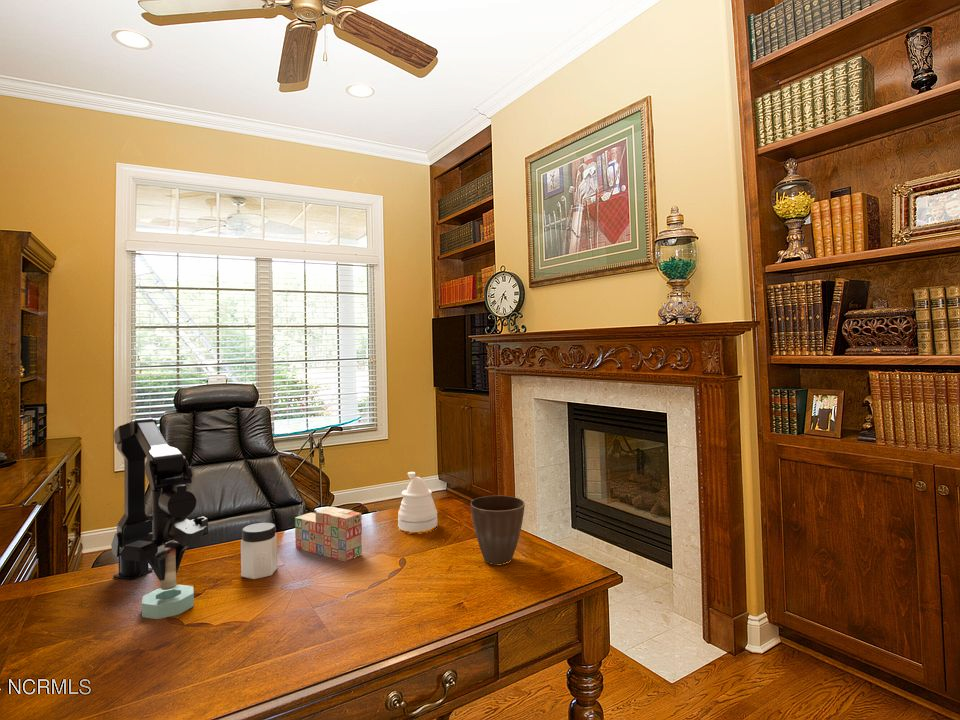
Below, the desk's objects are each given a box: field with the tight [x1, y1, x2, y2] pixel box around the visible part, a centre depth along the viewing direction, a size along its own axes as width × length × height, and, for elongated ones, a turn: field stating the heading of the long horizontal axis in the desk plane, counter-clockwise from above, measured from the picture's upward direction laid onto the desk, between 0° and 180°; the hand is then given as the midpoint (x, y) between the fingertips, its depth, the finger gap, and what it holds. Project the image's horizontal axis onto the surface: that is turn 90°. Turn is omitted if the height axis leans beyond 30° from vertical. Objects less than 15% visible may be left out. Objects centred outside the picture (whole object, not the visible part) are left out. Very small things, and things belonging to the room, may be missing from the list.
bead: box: [141, 584, 195, 620], centre depth 121 cm, size 10×10×3 cm
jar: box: [240, 522, 278, 580], centre depth 141 cm, size 9×8×12 cm
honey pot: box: [397, 471, 438, 532], centre depth 177 cm, size 13×13×18 cm
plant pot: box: [470, 495, 526, 564], centre depth 147 cm, size 15×15×16 cm
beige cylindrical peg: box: [160, 547, 177, 590], centre depth 121 cm, size 3×3×8 cm
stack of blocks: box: [294, 506, 363, 563], centre depth 156 cm, size 21×6×12 cm, turn 58°
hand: (168, 577), depth 121 cm, fingers closed on beige cylindrical peg, 3 cm apart
